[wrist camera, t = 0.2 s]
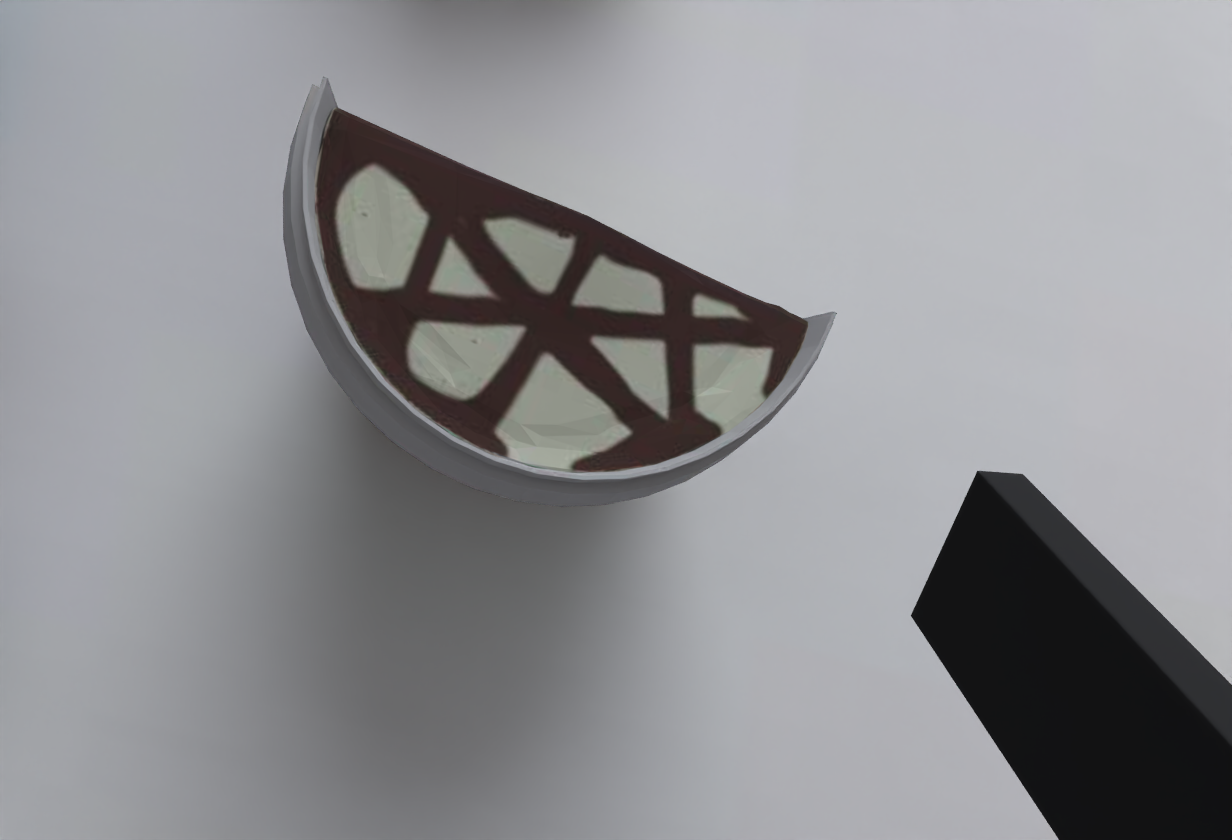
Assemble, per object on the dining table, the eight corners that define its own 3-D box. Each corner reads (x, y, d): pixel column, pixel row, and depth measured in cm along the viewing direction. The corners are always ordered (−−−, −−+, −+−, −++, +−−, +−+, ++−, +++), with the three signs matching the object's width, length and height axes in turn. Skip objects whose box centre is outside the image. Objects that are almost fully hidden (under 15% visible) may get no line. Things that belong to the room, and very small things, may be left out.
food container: (241, 406, 26) (157, 365, 17) (327, 211, 27) (295, 63, 17) (636, 556, 29) (765, 597, 19) (703, 373, 30) (858, 322, 20)
